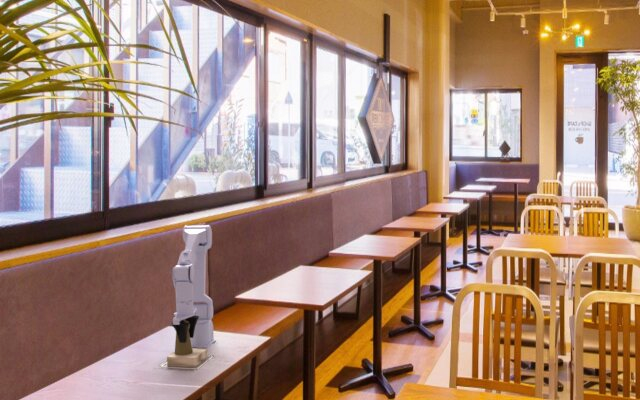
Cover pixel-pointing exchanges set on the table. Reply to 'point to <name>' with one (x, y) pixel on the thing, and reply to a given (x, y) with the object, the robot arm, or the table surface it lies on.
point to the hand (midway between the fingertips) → (186, 339)
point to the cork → (183, 344)
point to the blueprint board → (164, 366)
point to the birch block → (187, 358)
